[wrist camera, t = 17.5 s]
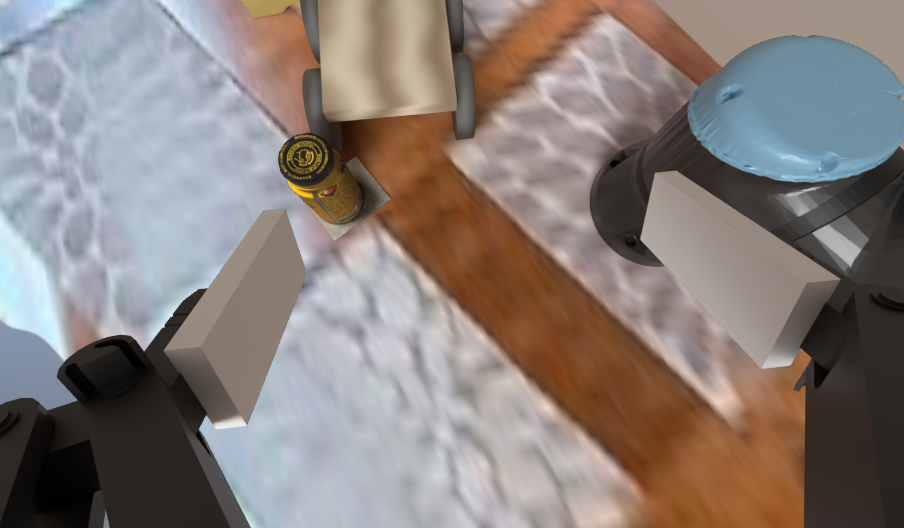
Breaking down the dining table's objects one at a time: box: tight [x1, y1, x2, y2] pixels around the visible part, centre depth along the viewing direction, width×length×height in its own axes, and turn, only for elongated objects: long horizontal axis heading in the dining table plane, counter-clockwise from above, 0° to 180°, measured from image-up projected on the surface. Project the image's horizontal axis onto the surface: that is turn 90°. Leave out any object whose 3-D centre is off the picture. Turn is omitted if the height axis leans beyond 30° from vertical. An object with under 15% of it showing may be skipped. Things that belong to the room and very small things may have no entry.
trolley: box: [300, 0, 475, 151], centre depth 41 cm, size 18×21×23 cm
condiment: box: [278, 133, 391, 241], centre depth 43 cm, size 7×8×12 cm
